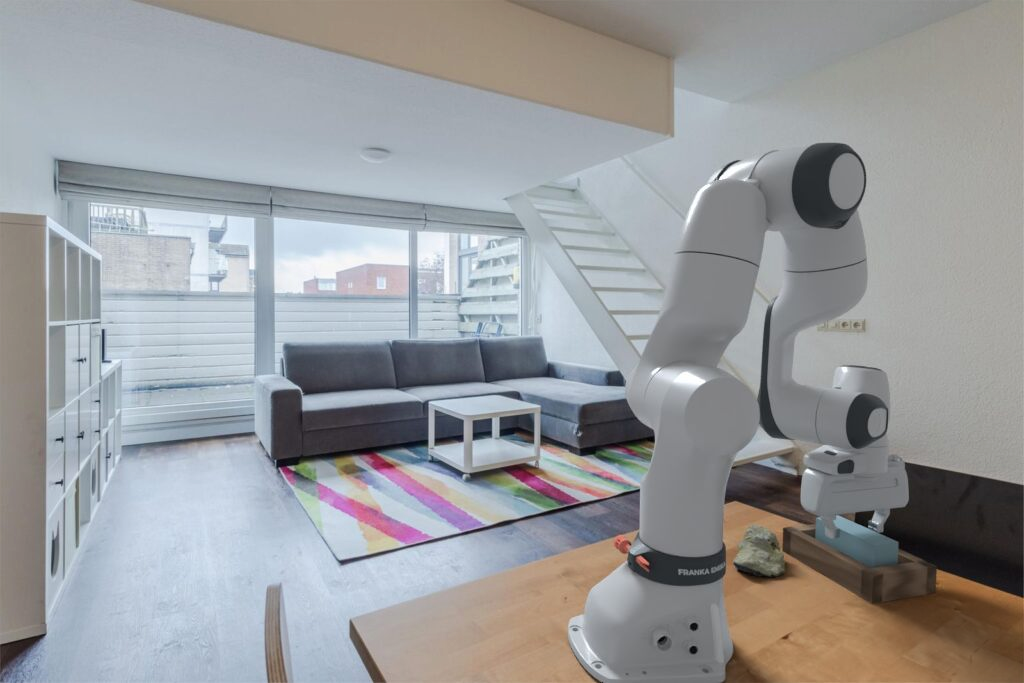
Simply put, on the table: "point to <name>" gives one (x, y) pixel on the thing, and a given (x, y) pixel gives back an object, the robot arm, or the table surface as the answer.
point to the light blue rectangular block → (860, 543)
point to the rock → (760, 553)
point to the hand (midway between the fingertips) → (854, 534)
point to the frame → (861, 568)
